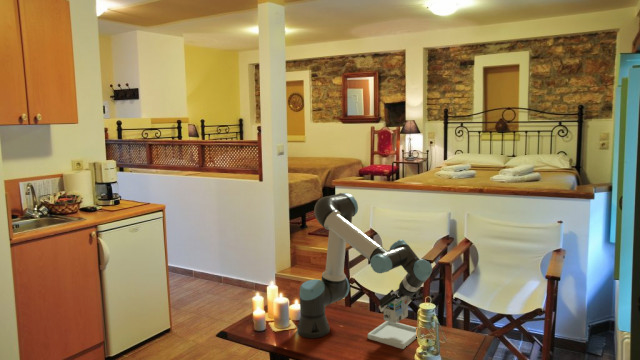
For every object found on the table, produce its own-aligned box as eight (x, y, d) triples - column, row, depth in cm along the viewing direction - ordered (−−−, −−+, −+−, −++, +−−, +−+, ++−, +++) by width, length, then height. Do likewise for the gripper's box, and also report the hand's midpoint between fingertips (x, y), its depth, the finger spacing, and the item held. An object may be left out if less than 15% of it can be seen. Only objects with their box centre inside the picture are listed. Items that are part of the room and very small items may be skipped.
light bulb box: (395, 323, 219) (395, 300, 218) (383, 320, 224) (382, 297, 222) (408, 315, 227) (408, 293, 226) (396, 312, 231) (395, 290, 230)
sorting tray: (367, 338, 225) (367, 333, 225) (387, 324, 239) (387, 319, 239) (403, 349, 214) (403, 344, 214) (422, 333, 228) (422, 329, 228)
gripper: (388, 297, 204) (372, 319, 221) (438, 287, 213) (418, 309, 230) (382, 281, 209) (366, 303, 225) (430, 272, 218) (412, 294, 234)
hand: (392, 306), depth 227 cm, fingers closed on light bulb box, 12 cm apart
